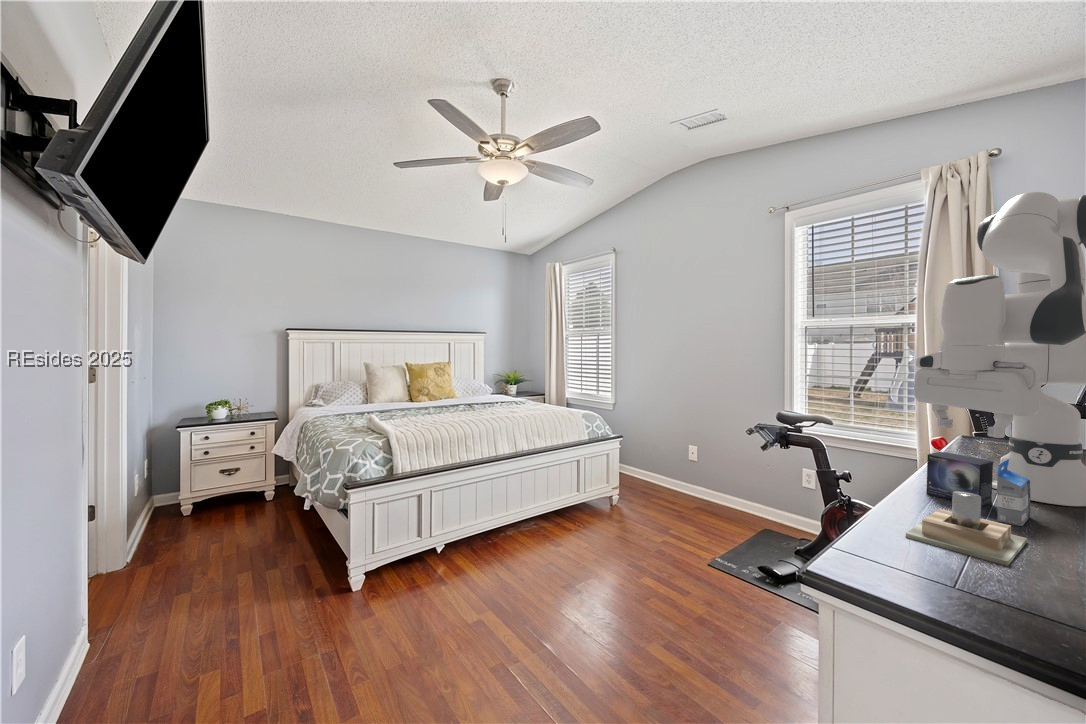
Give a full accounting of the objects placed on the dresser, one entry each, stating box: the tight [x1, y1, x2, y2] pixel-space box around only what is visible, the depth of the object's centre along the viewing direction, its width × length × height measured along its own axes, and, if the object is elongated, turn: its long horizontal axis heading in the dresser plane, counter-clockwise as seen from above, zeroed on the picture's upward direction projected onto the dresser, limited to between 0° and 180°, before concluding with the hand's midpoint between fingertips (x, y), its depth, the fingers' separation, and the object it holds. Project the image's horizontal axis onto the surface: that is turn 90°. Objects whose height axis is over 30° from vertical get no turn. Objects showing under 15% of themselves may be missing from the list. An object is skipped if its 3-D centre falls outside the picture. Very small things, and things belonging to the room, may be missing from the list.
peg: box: [951, 491, 982, 531], centre depth 85 cm, size 4×4×8 cm
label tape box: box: [996, 459, 1031, 527], centre depth 95 cm, size 9×4×12 cm, turn 124°
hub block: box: [905, 508, 1028, 567], centre depth 85 cm, size 16×14×3 cm
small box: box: [925, 451, 994, 508], centre depth 108 cm, size 11×6×10 cm, turn 23°
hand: (969, 432), depth 85 cm, fingers open, 8 cm apart
